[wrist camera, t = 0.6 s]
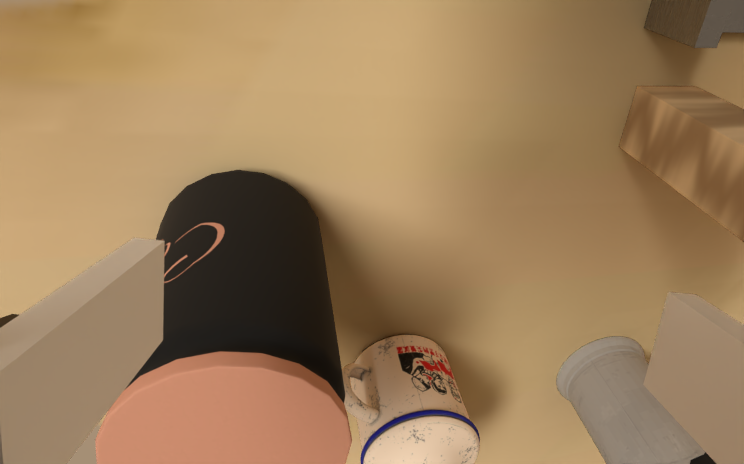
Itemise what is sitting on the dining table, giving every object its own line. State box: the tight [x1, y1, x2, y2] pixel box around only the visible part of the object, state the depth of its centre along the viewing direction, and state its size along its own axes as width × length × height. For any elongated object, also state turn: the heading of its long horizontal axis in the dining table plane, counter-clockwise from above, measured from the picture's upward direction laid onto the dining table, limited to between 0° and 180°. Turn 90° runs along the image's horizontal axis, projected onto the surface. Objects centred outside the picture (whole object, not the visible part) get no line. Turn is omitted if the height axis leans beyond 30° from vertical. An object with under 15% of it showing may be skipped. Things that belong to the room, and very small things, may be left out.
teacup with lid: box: [342, 335, 480, 464], centre depth 43 cm, size 12×9×12 cm
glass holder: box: [556, 336, 716, 464], centre depth 48 cm, size 9×14×15 cm, turn 17°
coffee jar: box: [95, 170, 352, 464], centre depth 31 cm, size 11×11×18 cm
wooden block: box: [619, 86, 744, 242], centre depth 33 cm, size 4×4×15 cm
